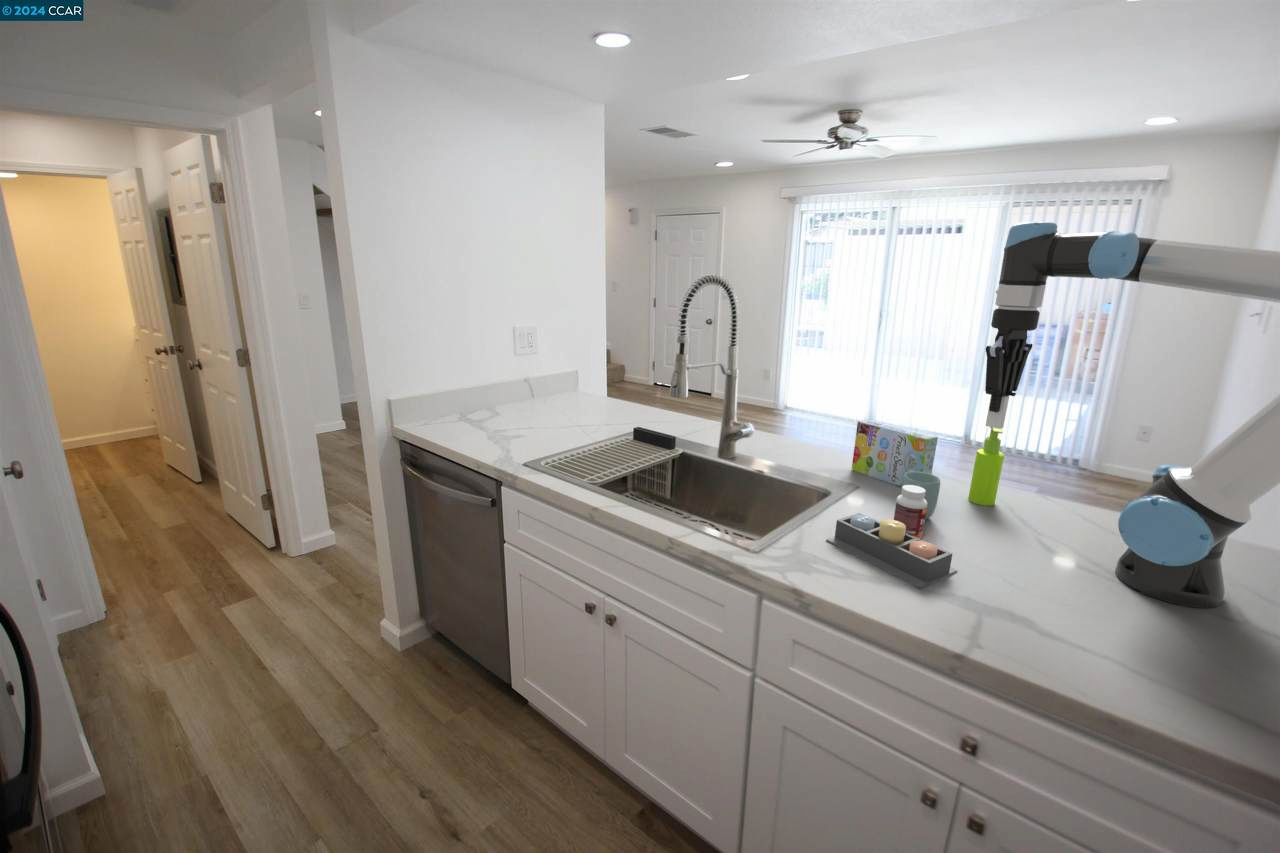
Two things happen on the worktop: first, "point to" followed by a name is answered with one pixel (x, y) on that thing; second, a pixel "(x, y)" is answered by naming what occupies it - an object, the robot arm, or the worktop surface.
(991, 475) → the soap dispenser
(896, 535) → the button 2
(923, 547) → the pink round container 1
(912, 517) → the pill bottle
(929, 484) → the cup
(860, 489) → the worktop surface
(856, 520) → the light blue block
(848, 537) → the grey compartment tray
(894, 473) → the snack box
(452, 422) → the worktop surface
